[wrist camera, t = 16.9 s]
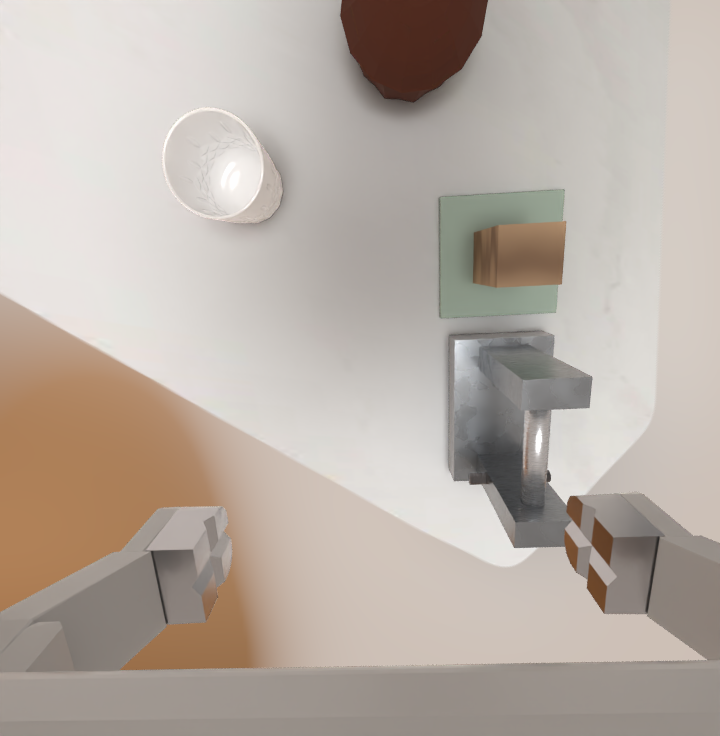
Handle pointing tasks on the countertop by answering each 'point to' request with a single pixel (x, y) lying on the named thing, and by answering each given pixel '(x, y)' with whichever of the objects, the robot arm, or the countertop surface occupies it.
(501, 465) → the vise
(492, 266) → the wooden block
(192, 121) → the white cup
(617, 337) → the countertop surface
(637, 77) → the countertop surface
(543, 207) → the mat
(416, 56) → the muffin
